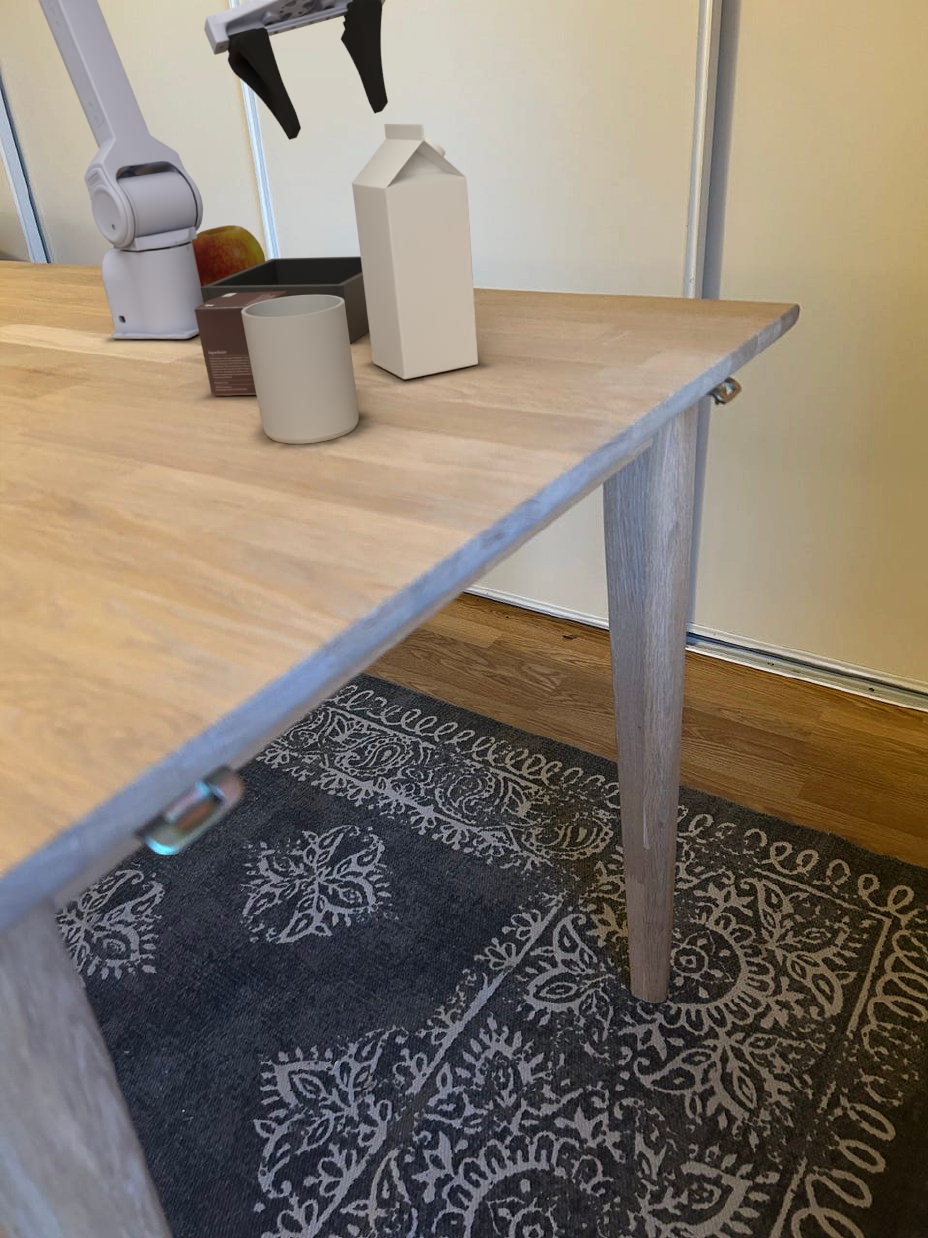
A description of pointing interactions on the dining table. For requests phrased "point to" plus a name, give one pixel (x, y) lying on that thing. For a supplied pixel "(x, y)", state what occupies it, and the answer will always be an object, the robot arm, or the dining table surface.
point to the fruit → (225, 252)
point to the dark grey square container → (304, 284)
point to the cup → (302, 367)
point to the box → (228, 341)
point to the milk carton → (416, 256)
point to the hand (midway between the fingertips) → (338, 120)
